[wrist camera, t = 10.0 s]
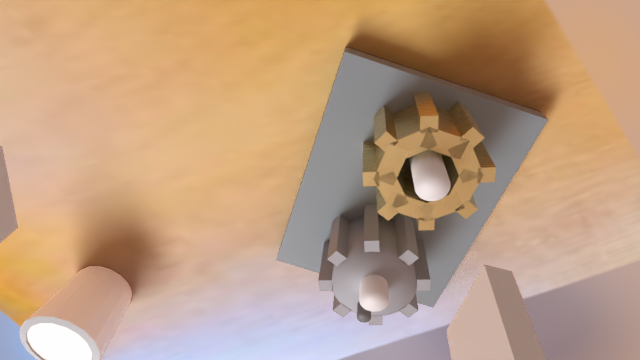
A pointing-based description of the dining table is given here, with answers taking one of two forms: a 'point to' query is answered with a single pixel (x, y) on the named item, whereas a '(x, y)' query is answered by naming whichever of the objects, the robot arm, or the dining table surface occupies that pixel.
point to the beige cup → (78, 317)
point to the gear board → (361, 202)
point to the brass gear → (415, 137)
